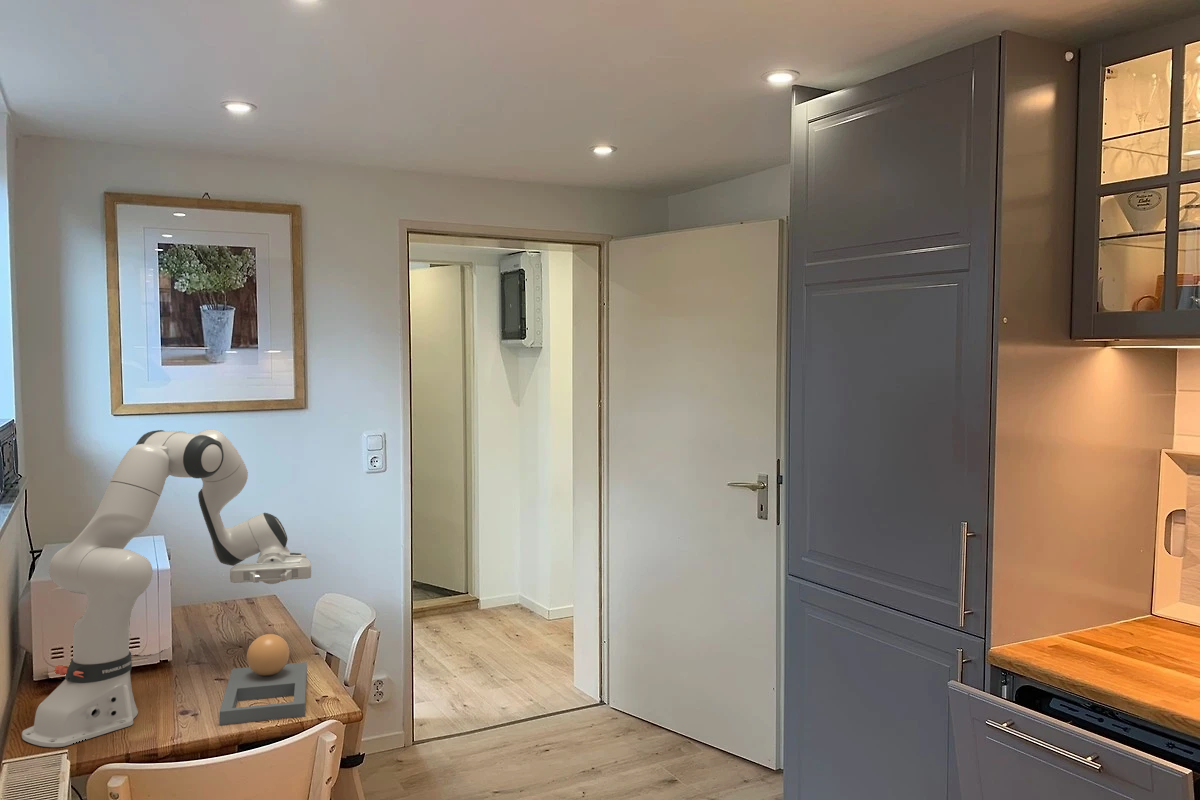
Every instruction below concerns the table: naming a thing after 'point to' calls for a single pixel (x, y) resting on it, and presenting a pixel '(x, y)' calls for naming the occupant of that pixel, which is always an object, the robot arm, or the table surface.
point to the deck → (264, 694)
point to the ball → (268, 654)
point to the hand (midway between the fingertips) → (270, 578)
